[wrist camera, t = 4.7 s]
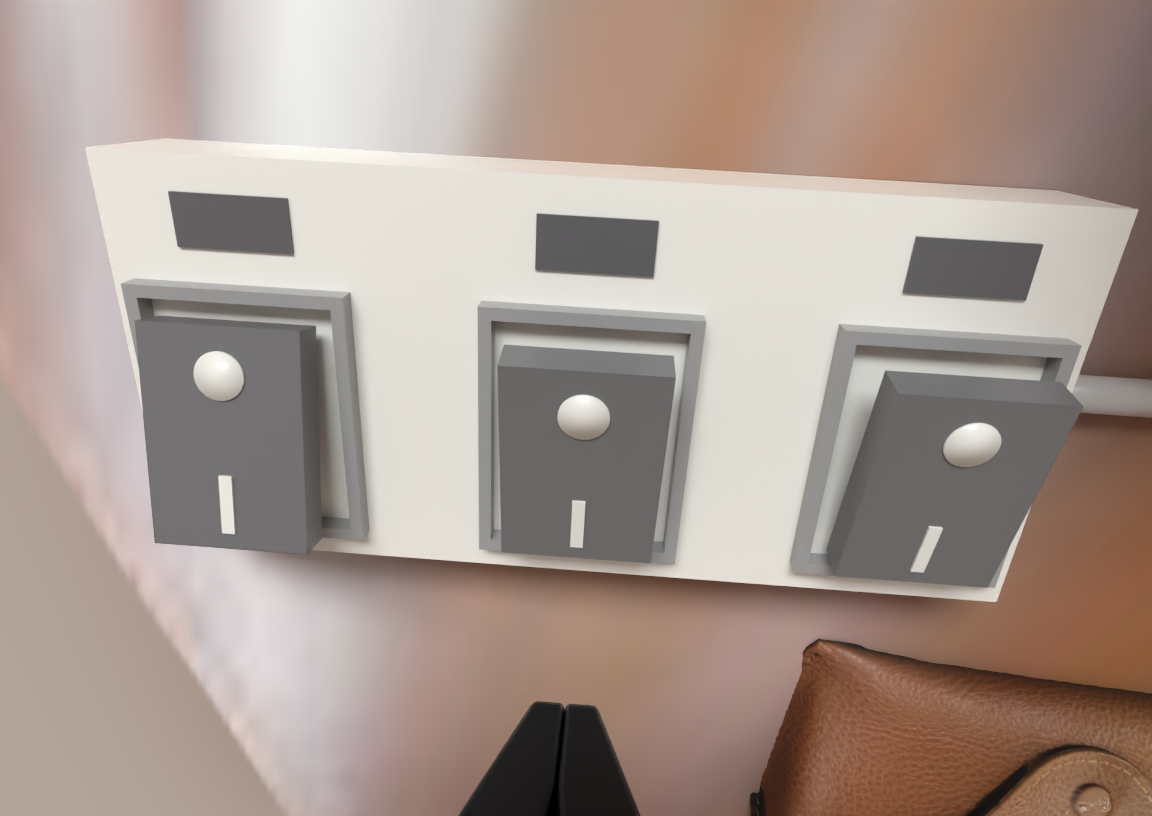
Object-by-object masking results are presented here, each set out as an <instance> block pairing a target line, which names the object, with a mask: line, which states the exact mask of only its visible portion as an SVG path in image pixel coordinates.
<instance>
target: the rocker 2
mask: <svg viewBox="0 0 1152 816" xmlns="http://www.w3.org/2000/svg"><path fill="white" fill-rule="evenodd" d="M1083 407H1084V406H1083V405H1082V404H1081V403H1080V402H1079V401H1078V400H1077V399H1076V398H1075V396H1074V395H1073V394H1072V393H1071V392H1070V391H1069V390H1068V389H1067V388H1066V387H1065V386H1064V385H1063V384H1062V383H1061V382H1051V381H1036V380H1021V379H1006V378H991V377H976V376H961V375H946V374H931V373H916V372H901V371H886V370H885V373H884V376H883V379H882V382H881V385H880V388H879V391H878V394H877V397H876V400H875V403H874V406H873V409H872V412H871V415H870V418H869V421H868V424H867V427H866V430H865V433H864V436H863V439H862V442H861V445H860V449H859V452H858V455H857V458H856V461H855V464H854V467H853V470H852V473H851V476H850V479H849V482H848V485H847V488H846V491H845V494H844V497H843V500H842V503H841V506H840V509H839V512H838V515H837V518H836V521H835V524H834V527H833V530H832V533H831V536H830V539H829V543H828V546H827V549H826V550H827V553H828V556H829V559H830V563H831V566H832V569H833V572H834V575H835V576H837V577H850V578H864V579H877V580H890V581H904V582H917V583H930V584H944V585H957V586H970V587H984V588H988V586H989V585H990V583H991V581H992V579H993V577H994V575H995V573H996V571H997V569H998V568H999V566H1000V564H1001V562H1002V560H1003V558H1004V556H1005V554H1006V552H1007V551H1008V549H1009V547H1010V545H1011V543H1012V541H1013V539H1014V537H1015V535H1016V534H1017V532H1018V530H1019V528H1020V526H1021V524H1022V522H1023V520H1024V518H1025V517H1026V515H1027V513H1028V511H1029V509H1030V507H1031V505H1032V503H1033V501H1034V500H1035V498H1036V496H1037V494H1038V492H1039V490H1040V488H1041V486H1042V484H1043V482H1044V481H1045V479H1046V477H1047V475H1048V473H1049V471H1050V469H1051V467H1052V465H1053V464H1054V462H1055V460H1056V458H1057V456H1058V454H1059V452H1060V450H1061V448H1062V447H1063V445H1064V443H1065V441H1066V439H1067V437H1068V435H1069V433H1070V431H1071V430H1072V428H1073V426H1074V424H1075V422H1076V420H1077V418H1078V416H1079V414H1080V413H1081V411H1082V409H1083Z"/></svg>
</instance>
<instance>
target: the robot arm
mask: <svg viewBox="0 0 1152 816" xmlns="http://www.w3.org/2000/svg"><path fill="white" fill-rule="evenodd" d="M458 816H640V814H639V811H638V809H637V806H636V804H635V801H634V798H633V796H632V793H631V791H630V788H629V786H628V783H627V781H626V778H625V776H624V773H623V771H622V768H621V766H620V763H619V761H618V758H617V756H616V753H615V751H614V748H613V746H612V743H611V741H610V738H609V736H608V733H607V731H606V728H605V725H604V723H603V720H602V718H601V715H600V713H599V711H598V709H597V708H596V707H595V706H591V705H578V704H569V705H567V706H566V708H565V710H564V706H563V705H562V704H560V703H552V702H539V701H538V702H534V703H533V704H532V705H531V706H530V707H529V709H528V710H527V712H526V713H525V715H524V716H523V718H522V719H521V721H520V722H519V724H518V725H517V727H516V728H515V730H514V731H513V733H512V735H511V736H510V738H509V739H508V741H507V742H506V744H505V745H504V747H503V748H502V750H501V751H500V753H499V754H498V756H497V757H496V759H495V760H494V762H493V763H492V765H491V767H490V768H489V770H488V771H487V773H486V774H485V776H484V777H483V779H482V780H481V782H480V783H479V785H478V786H477V788H476V789H475V791H474V792H473V794H472V795H471V797H470V799H469V800H468V802H467V803H466V805H465V806H464V808H463V809H462V811H461V812H460V814H459V815H458Z"/></svg>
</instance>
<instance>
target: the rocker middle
mask: <svg viewBox="0 0 1152 816" xmlns="http://www.w3.org/2000/svg"><path fill="white" fill-rule="evenodd" d="M497 372H498V417H499V462H500V506H501V551H502V552H504V553H518V554H531V555H544V556H558V557H571V558H584V559H598V560H611V561H624V562H637V563H651V557H652V549H653V542H654V535H655V527H656V520H657V513H658V505H659V498H660V491H661V484H662V476H663V469H664V462H665V454H666V447H667V440H668V432H669V425H670V418H671V410H672V403H673V396H674V389H675V381H676V373H675V363H674V356H669V355H654V354H639V353H624V352H609V351H594V350H579V349H564V348H549V347H534V346H519V345H504V346H503V349H502V352H501V355H500V359H499V362H498V365H497Z"/></svg>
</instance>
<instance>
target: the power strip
mask: <svg viewBox="0 0 1152 816" xmlns="http://www.w3.org/2000/svg"><path fill="white" fill-rule="evenodd" d="M85 150H86V154H87V159H88V163H89V168H90V173H91V177H92V182H93V186H94V191H95V196H96V200H97V205H98V209H99V214H100V219H101V223H102V228H103V232H104V237H105V242H106V246H107V251H108V255H109V260H110V265H111V269H112V274H113V279H114V283H115V288H116V292H117V297H118V302H119V306H120V311H121V315H122V320H123V325H124V329H125V334H126V338H127V343H128V348H129V352H130V357H131V361H132V366H133V371H134V375H135V380H136V384H137V389H138V394H139V398H140V403H141V407H142V397H141V386H140V375H139V364H138V353H137V342H136V331H135V321H134V320H139V319H144V318H150V317H155V316H175V317H190V318H205V319H220V320H236V321H251V322H266V323H281V324H296V325H311V326H316V344H317V378H318V411H319V445H320V478H321V512H322V539H321V540H320V541H319V542H318V543H317V544H316V546H315V547H314V548H313V549H312V550H315V551H329V552H342V553H355V554H368V555H382V556H395V557H408V558H421V559H434V560H448V561H461V562H474V563H487V564H500V565H514V566H527V567H540V568H553V569H566V570H580V571H593V572H606V573H619V574H633V575H646V576H659V577H672V578H685V579H699V580H712V581H725V582H738V583H751V584H765V585H778V586H791V587H804V588H817V589H831V590H844V591H857V592H870V593H884V594H897V595H910V596H923V597H936V598H950V599H963V600H976V601H989V602H997V599H998V596H999V593H1000V591H1001V588H1002V585H1003V582H1004V580H1005V577H1006V574H1007V571H1008V569H1009V566H1010V563H1011V560H1012V557H1013V555H1014V552H1015V549H1016V546H1017V544H1018V541H1019V538H1020V535H1021V533H1022V530H1023V527H1024V524H1025V522H1026V519H1027V516H1028V513H1029V511H1030V509H1029V511H1028V513H1027V515H1026V517H1025V518H1024V520H1023V522H1022V524H1021V526H1020V528H1019V530H1018V532H1017V534H1016V535H1015V537H1014V539H1013V541H1012V543H1011V545H1010V547H1009V549H1008V551H1007V552H1006V554H1005V556H1004V558H1003V560H1002V562H1001V564H1000V566H999V568H998V569H997V571H996V573H995V575H994V577H993V579H992V581H991V583H990V585H989V586H988V588H984V587H970V586H957V585H944V584H930V583H917V582H904V581H890V580H877V579H864V578H850V577H837V576H835V575H834V572H833V569H832V566H831V563H830V559H829V556H828V553H827V550H826V549H827V546H828V543H829V539H830V536H831V533H832V530H833V527H834V524H835V521H836V518H837V515H838V512H839V509H840V506H841V503H842V500H843V497H844V494H845V491H846V488H847V485H848V482H849V479H850V476H851V473H852V470H853V467H854V464H855V461H856V458H857V455H858V452H859V449H860V445H861V442H862V439H863V436H864V433H865V430H866V427H867V424H868V421H869V418H870V415H871V412H872V409H873V406H874V403H875V400H876V397H877V394H878V391H879V388H880V385H881V382H882V379H883V376H884V373H885V370H886V371H901V372H916V373H931V374H946V375H961V376H976V377H991V378H1006V379H1021V380H1036V381H1051V382H1061V383H1062V384H1063V385H1064V386H1065V387H1066V388H1067V389H1068V390H1069V391H1070V392H1071V393H1072V394H1073V395H1074V396H1075V398H1076V399H1077V400H1078V401H1079V402H1080V403H1081V404H1082V405H1083V406H1084V407H1083V409H1082V411H1081V413H1091V414H1105V415H1120V416H1135V417H1150V418H1152V379H1138V378H1123V377H1107V376H1092V375H1079V373H1080V370H1081V367H1082V365H1083V362H1084V359H1085V356H1086V354H1087V351H1088V348H1089V345H1090V343H1091V340H1092V337H1093V334H1094V332H1095V329H1096V326H1097V323H1098V321H1099V318H1100V315H1101V312H1102V310H1103V307H1104V304H1105V301H1106V299H1107V296H1108V293H1109V290H1110V288H1111V285H1112V282H1113V279H1114V277H1115V274H1116V271H1117V268H1118V265H1119V263H1120V260H1121V257H1122V254H1123V252H1124V249H1125V246H1126V243H1127V241H1128V238H1129V235H1130V232H1131V230H1132V227H1133V224H1134V221H1135V219H1136V216H1137V213H1138V210H1139V209H1135V208H1130V207H1126V206H1122V205H1117V204H1113V203H1109V202H1105V201H1100V200H1096V199H1092V198H1087V197H1083V196H1079V195H1074V194H1070V193H1066V192H1061V191H1057V190H1041V189H1024V188H1006V187H989V186H972V185H955V184H938V183H921V182H904V181H887V180H870V179H852V178H835V177H818V176H801V175H784V174H767V173H750V172H733V171H715V170H698V169H681V168H664V167H647V166H630V165H613V164H596V163H579V162H561V161H544V160H527V159H510V158H493V157H476V156H459V155H442V154H425V153H407V152H390V151H373V150H356V149H339V148H322V147H305V146H288V145H270V144H253V143H236V142H219V141H202V140H185V139H168V138H166V139H156V140H147V141H138V142H129V143H120V144H110V145H101V146H92V147H85ZM504 345H519V346H534V347H549V348H564V349H579V350H594V351H609V352H624V353H639V354H654V355H669V356H674V363H675V373H676V381H675V389H674V396H673V403H672V410H671V418H670V425H669V432H668V440H667V447H666V454H665V462H664V469H663V476H662V484H661V491H660V498H659V505H658V513H657V520H656V527H655V535H654V542H653V549H652V557H651V563H637V562H624V561H611V560H598V559H584V558H571V557H558V556H544V555H531V554H518V553H504V552H502V551H501V506H500V462H499V417H498V372H497V365H498V362H499V359H500V355H501V352H502V349H503V346H504ZM142 412H143V408H142ZM1030 508H1031V507H1030Z"/></svg>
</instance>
